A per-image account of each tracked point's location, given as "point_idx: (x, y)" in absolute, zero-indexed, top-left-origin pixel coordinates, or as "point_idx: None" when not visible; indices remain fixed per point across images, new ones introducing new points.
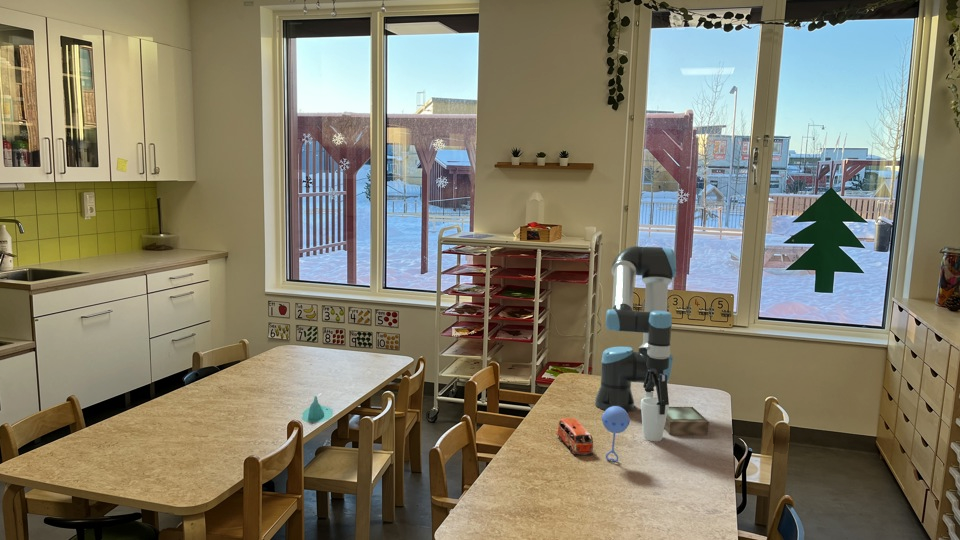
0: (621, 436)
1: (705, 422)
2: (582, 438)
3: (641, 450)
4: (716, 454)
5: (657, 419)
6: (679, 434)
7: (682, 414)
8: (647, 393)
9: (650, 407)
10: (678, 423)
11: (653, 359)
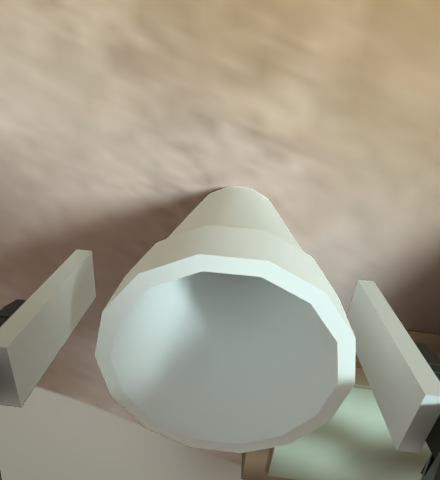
0: (274, 61)
1: (243, 468)
2: None
3: (72, 104)
4: (66, 375)
5: (64, 265)
6: None
7: (343, 438)
8: (413, 398)
9: (126, 283)
10: None
11: None
